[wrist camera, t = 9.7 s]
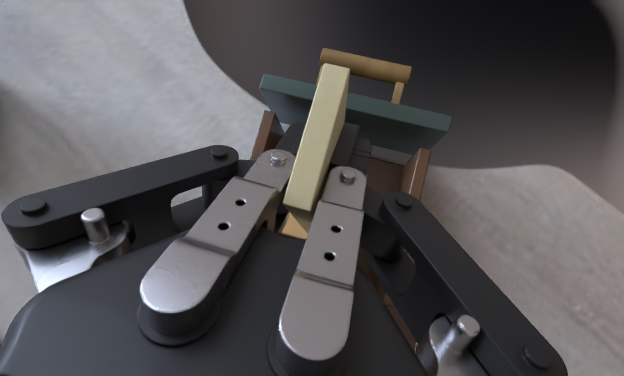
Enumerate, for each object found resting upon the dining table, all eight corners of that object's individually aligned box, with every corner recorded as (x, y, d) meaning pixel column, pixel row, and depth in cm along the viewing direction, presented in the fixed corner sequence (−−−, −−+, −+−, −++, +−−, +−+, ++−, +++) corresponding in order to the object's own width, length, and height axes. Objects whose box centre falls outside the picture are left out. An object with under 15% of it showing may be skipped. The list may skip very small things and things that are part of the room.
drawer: (291, 67, 32) (280, 20, 25) (436, 100, 30) (465, 59, 24) (225, 288, 29) (191, 302, 22) (381, 335, 28) (396, 365, 21)
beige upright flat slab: (302, 162, 23) (269, 40, 10) (365, 178, 23) (413, 72, 10) (281, 233, 22) (215, 197, 9) (347, 251, 22) (373, 240, 9)
